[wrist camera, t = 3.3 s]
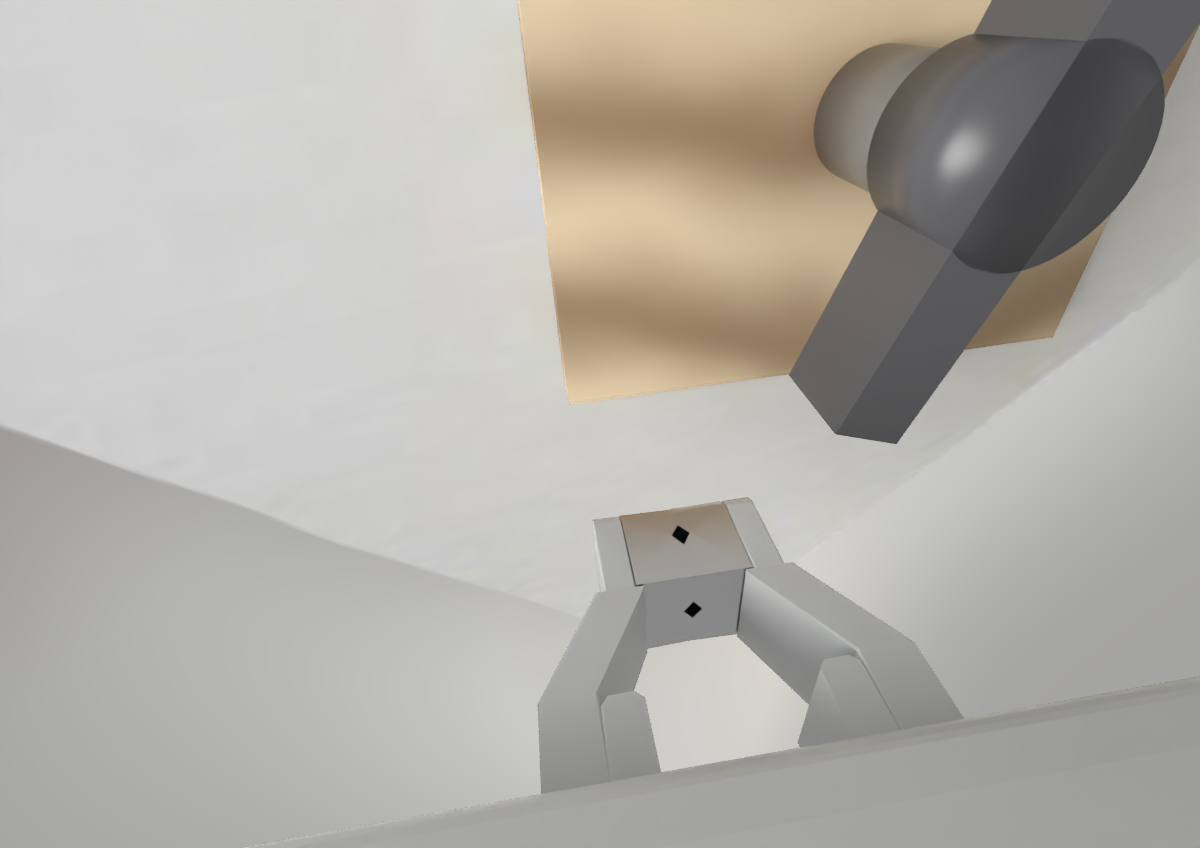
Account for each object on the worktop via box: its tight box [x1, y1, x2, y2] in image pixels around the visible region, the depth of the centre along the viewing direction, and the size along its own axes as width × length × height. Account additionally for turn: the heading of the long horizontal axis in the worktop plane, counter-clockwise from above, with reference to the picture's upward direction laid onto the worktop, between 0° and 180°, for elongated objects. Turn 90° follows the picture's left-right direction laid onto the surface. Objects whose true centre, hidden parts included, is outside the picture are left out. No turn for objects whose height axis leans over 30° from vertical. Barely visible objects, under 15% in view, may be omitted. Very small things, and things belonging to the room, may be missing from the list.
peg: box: [789, 0, 1200, 444], centre depth 15 cm, size 14×10×7 cm
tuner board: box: [517, 0, 1200, 405], centre depth 18 cm, size 18×20×2 cm
